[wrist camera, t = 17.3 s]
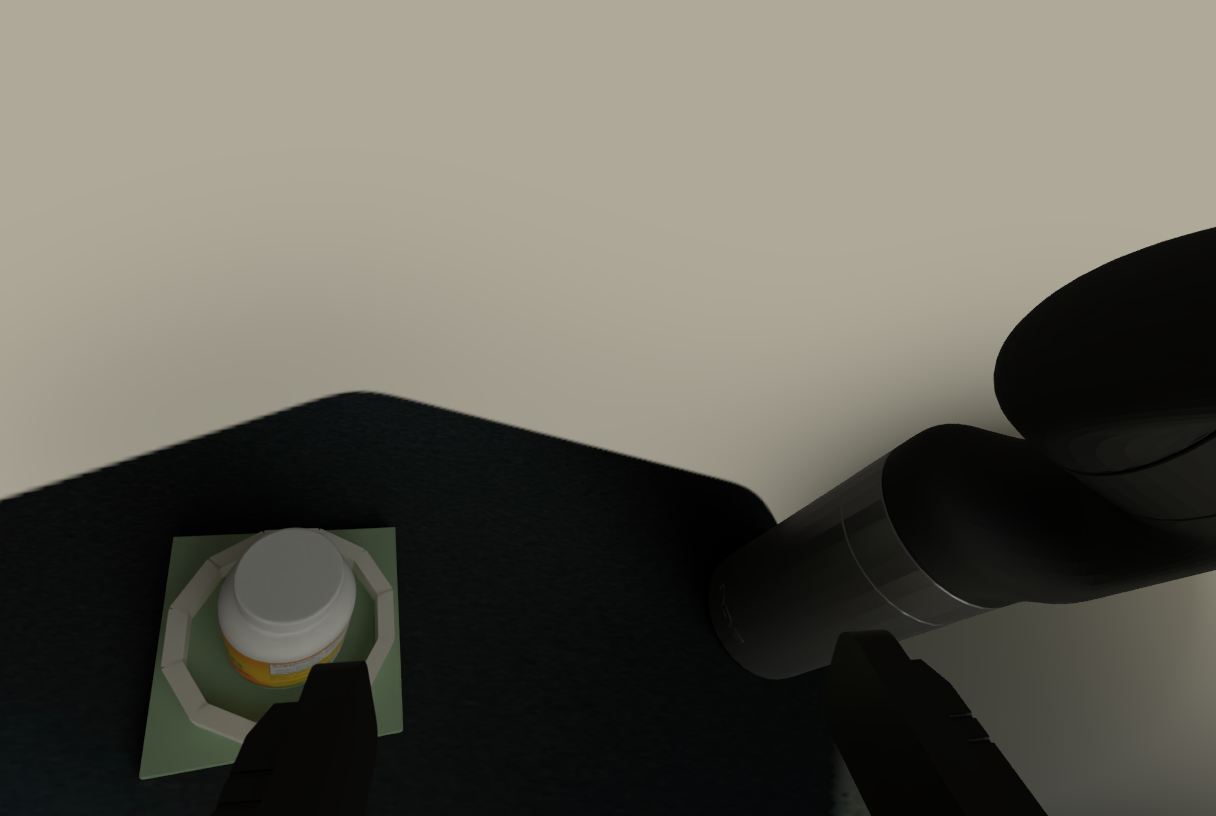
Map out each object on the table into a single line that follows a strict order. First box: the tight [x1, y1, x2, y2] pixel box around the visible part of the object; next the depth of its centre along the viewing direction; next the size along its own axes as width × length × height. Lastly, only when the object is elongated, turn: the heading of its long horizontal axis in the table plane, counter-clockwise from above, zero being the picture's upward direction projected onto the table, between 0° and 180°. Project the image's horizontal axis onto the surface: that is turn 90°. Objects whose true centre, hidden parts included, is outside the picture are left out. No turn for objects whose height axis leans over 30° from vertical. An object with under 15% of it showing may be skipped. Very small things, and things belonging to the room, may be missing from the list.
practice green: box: [139, 527, 403, 780], centre depth 32 cm, size 11×11×2 cm
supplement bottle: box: [218, 528, 356, 689], centre depth 28 cm, size 5×5×10 cm
